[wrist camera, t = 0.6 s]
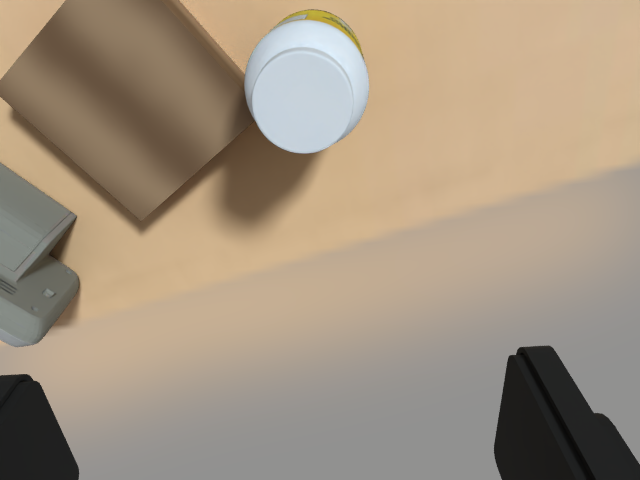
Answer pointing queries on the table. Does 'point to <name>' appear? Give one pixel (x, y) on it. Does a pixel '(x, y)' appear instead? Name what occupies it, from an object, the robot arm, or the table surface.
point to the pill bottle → (307, 82)
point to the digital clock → (31, 261)
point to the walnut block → (130, 95)
